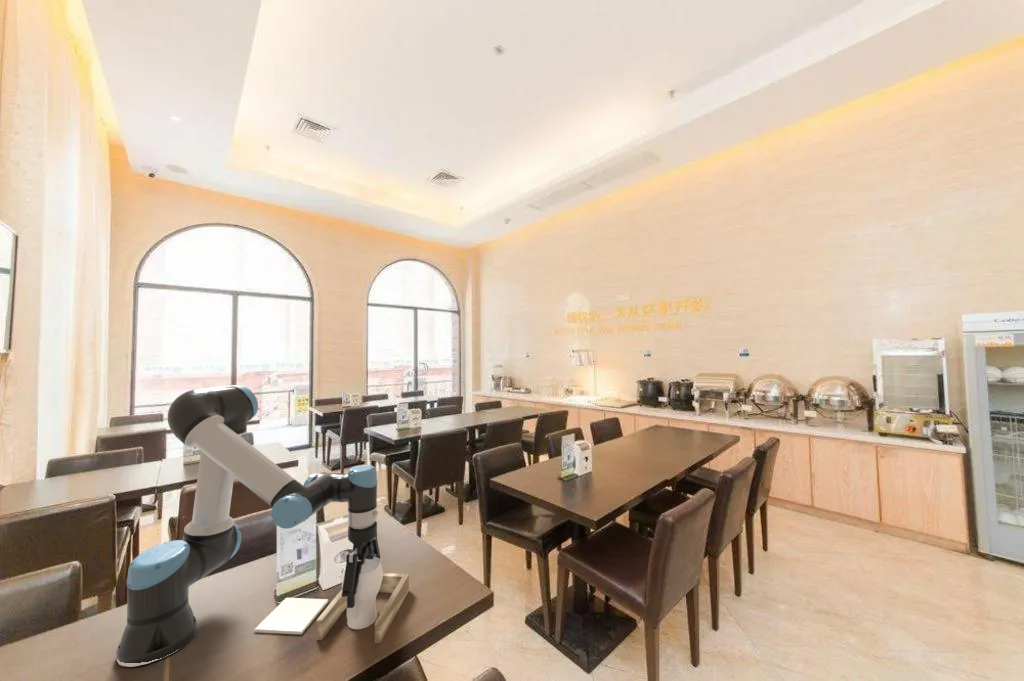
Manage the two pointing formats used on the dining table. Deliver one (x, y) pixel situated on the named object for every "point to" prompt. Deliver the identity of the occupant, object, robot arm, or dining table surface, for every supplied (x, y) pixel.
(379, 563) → the cup
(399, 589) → the frame
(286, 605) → the tile
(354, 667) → the dining table surface
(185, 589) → the robot arm
